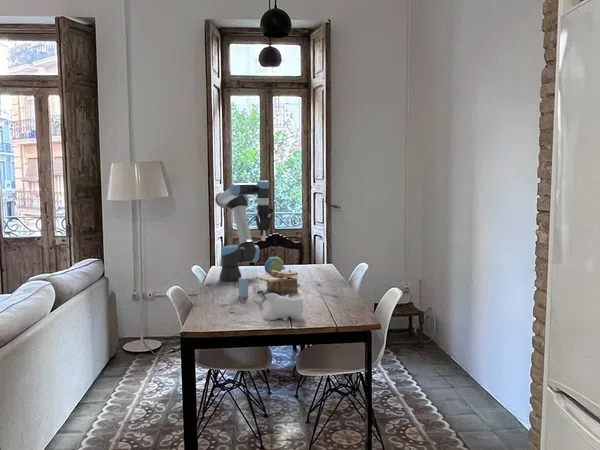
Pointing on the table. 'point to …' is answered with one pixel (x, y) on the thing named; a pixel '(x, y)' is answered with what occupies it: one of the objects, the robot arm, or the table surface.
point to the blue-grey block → (243, 287)
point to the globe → (274, 264)
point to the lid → (272, 277)
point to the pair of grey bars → (263, 292)
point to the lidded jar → (291, 274)
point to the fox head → (283, 307)
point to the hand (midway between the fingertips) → (263, 240)
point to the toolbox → (283, 285)
